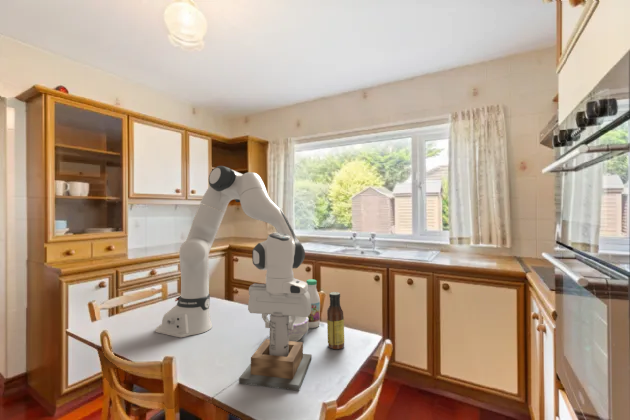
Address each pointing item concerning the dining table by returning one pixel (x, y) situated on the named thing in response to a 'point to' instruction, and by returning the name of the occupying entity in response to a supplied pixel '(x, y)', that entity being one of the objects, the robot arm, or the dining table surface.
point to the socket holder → (277, 367)
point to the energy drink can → (279, 335)
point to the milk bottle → (313, 304)
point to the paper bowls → (298, 328)
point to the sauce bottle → (335, 322)
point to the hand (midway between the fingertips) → (279, 328)
